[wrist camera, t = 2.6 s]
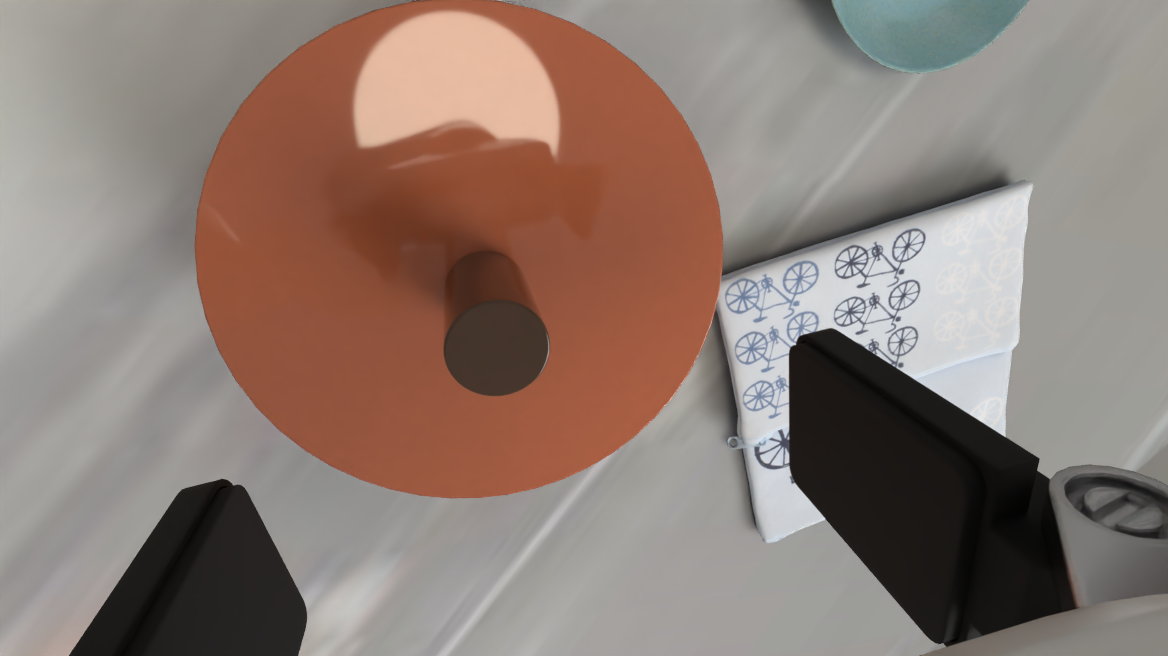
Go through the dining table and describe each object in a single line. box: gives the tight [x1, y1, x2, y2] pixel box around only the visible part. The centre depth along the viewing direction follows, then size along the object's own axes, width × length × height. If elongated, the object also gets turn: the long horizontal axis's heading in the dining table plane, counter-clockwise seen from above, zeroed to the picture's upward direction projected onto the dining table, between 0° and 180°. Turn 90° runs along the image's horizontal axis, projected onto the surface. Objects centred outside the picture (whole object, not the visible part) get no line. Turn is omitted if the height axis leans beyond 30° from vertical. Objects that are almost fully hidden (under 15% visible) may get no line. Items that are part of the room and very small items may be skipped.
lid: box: [195, 0, 723, 498], centre depth 16 cm, size 16×16×6 cm
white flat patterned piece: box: [716, 180, 1033, 543], centre depth 34 cm, size 19×20×2 cm
